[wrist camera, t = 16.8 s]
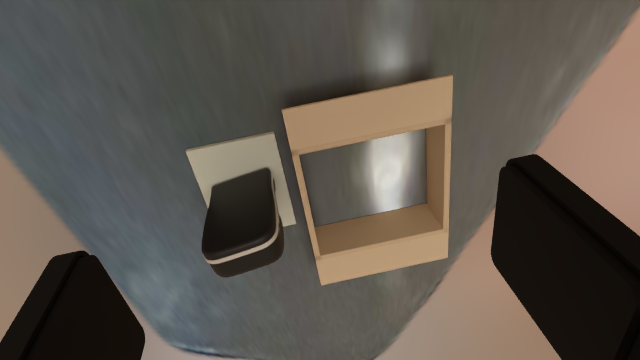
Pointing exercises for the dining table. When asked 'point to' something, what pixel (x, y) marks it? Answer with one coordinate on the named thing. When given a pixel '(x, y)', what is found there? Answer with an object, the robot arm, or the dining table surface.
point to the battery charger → (243, 225)
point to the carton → (393, 226)
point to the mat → (241, 166)
